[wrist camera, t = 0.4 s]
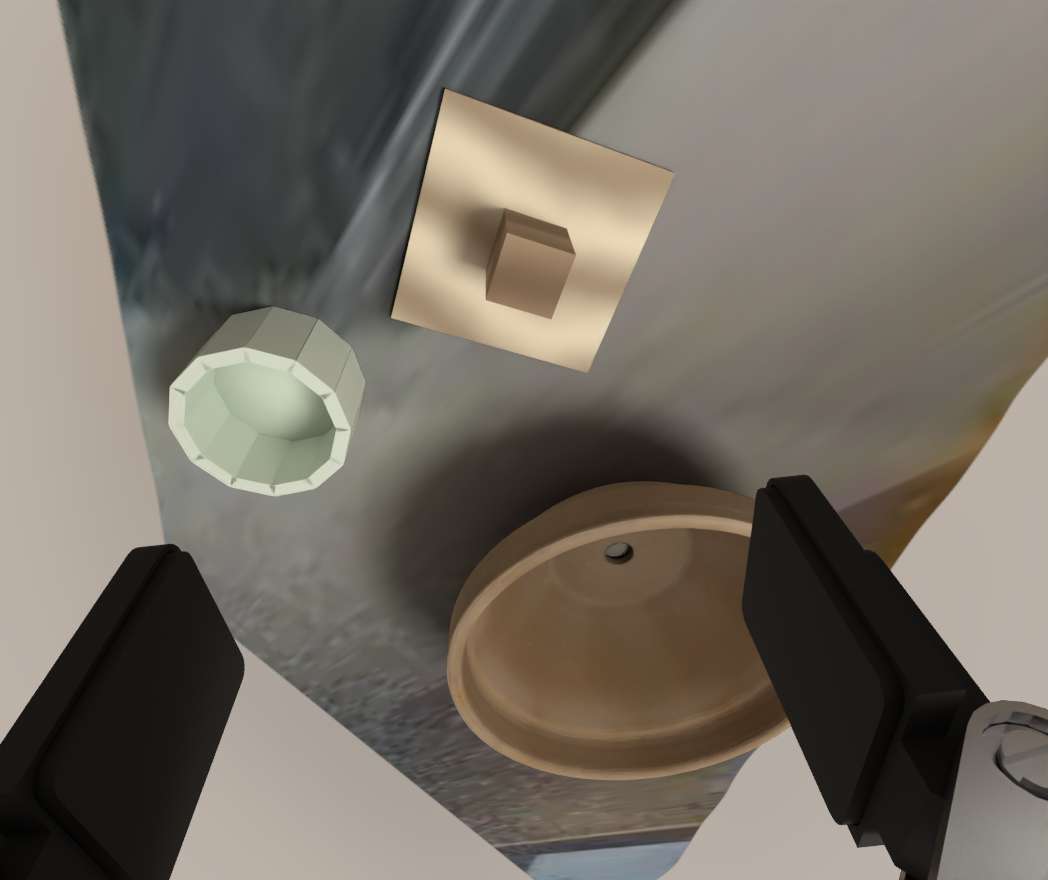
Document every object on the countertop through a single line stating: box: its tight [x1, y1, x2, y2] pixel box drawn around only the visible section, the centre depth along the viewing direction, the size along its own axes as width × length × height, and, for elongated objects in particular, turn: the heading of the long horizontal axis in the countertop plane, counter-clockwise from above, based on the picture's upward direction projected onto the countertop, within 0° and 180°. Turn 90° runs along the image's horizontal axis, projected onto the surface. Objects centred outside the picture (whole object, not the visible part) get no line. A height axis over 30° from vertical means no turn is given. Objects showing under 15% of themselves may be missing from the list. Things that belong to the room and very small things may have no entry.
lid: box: [391, 88, 675, 373], centre depth 38 cm, size 14×14×6 cm
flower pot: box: [447, 481, 791, 780], centre depth 50 cm, size 28×28×13 cm
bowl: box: [168, 306, 366, 496], centre depth 42 cm, size 11×11×6 cm
